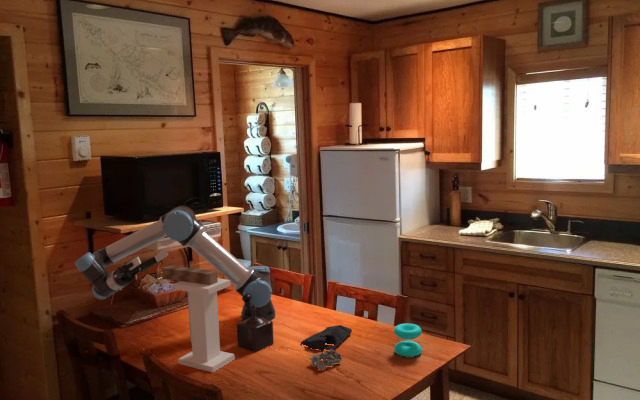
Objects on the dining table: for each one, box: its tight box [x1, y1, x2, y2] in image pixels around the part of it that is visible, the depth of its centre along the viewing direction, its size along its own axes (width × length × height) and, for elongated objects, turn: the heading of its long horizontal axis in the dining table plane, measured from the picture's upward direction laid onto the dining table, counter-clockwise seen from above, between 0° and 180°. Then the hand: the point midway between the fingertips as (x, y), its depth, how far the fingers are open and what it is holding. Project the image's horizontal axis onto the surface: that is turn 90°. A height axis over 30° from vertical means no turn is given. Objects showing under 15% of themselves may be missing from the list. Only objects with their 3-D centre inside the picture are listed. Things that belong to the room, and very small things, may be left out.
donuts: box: [393, 322, 423, 358], centre depth 201 cm, size 10×10×10 cm
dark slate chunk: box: [300, 324, 352, 351], centre depth 216 cm, size 15×22×5 cm
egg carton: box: [309, 349, 344, 370], centre depth 194 cm, size 11×8×4 cm
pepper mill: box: [235, 294, 275, 353], centre depth 214 cm, size 16×11×18 cm
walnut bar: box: [161, 265, 219, 285], centre depth 197 cm, size 22×4×4 cm, turn 62°
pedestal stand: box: [173, 277, 236, 373], centre depth 197 cm, size 16×12×30 cm
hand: (153, 256), depth 205 cm, fingers open, 13 cm apart
